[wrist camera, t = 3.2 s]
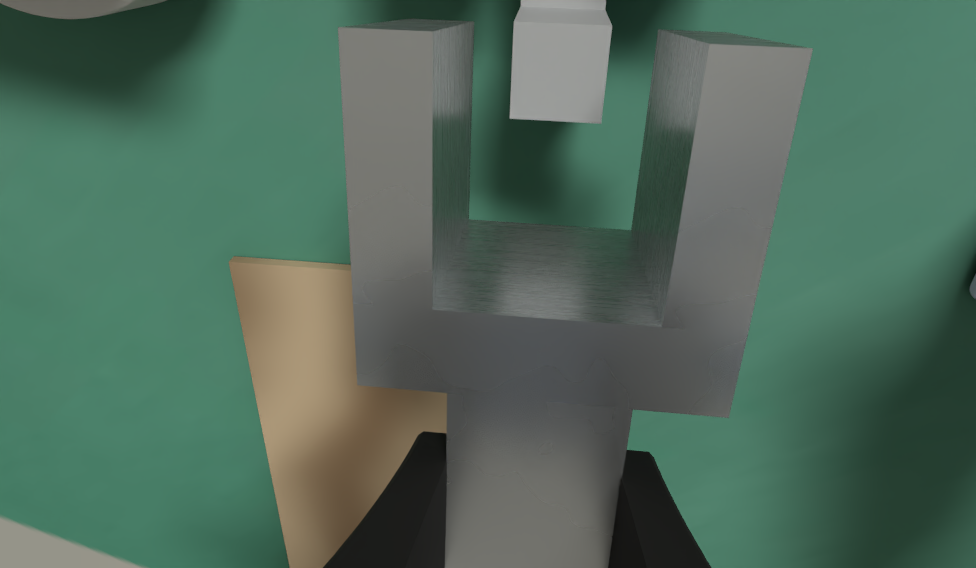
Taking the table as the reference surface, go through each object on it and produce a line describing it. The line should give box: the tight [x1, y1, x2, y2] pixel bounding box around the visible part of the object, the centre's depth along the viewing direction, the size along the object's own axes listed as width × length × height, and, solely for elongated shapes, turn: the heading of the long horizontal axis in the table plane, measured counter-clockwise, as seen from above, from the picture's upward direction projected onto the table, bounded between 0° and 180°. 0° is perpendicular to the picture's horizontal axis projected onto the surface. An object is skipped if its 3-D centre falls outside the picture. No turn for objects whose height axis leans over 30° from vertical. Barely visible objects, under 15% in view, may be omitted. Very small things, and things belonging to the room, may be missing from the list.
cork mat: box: [229, 256, 447, 568], centre depth 26 cm, size 8×17×1 cm, turn 179°
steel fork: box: [338, 19, 813, 568], centre depth 13 cm, size 6×14×4 cm, turn 179°
